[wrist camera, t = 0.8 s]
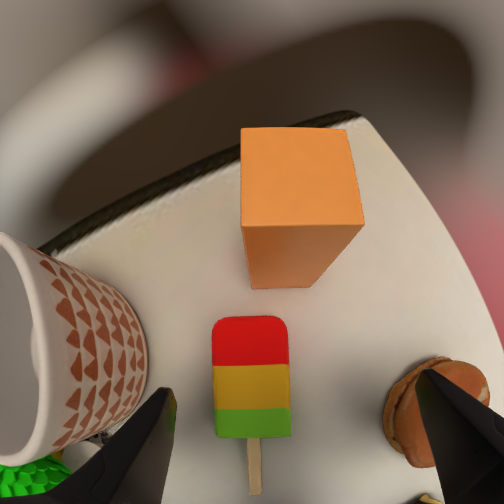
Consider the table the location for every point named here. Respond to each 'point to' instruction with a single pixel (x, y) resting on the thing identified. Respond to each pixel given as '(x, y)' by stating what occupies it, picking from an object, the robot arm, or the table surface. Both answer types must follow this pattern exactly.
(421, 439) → the burger
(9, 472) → the ornament
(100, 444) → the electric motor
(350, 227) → the juice carton
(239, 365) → the popsicle
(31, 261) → the vase
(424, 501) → the gaming controller
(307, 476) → the table surface
